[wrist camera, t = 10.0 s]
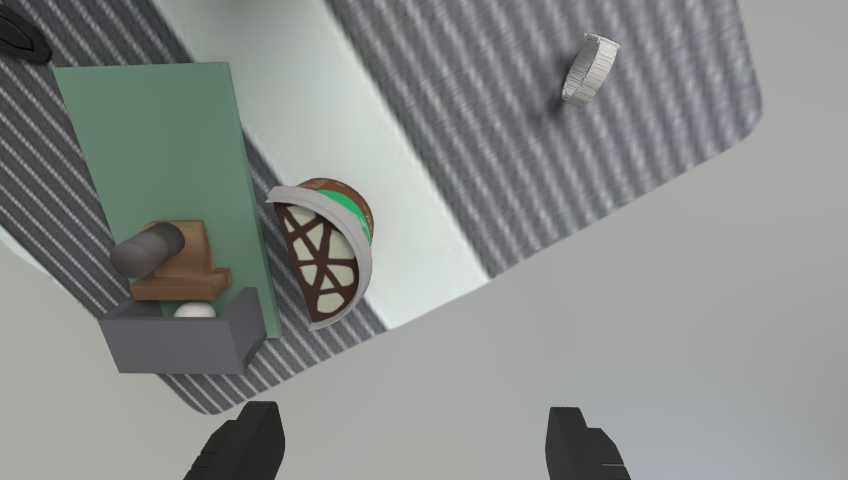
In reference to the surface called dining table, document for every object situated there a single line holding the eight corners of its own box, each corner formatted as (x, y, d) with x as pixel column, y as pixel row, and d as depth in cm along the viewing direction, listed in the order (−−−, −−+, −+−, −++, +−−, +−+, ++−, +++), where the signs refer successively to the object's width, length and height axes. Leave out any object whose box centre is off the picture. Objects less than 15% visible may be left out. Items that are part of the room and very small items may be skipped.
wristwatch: (607, 46, 33) (634, 43, 28) (577, 106, 34) (597, 112, 30) (575, 32, 32) (597, 26, 28) (547, 94, 34) (562, 98, 30)
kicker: (136, 215, 39) (76, 244, 33) (216, 214, 39) (170, 243, 32) (158, 281, 42) (107, 320, 36) (233, 281, 42) (194, 320, 35)
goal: (142, 287, 43) (97, 320, 37) (256, 287, 42) (227, 320, 36) (159, 335, 45) (119, 373, 40) (267, 335, 44) (241, 374, 39)
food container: (396, 270, 42) (382, 328, 32) (339, 278, 42) (310, 336, 33) (370, 153, 37) (346, 181, 28) (307, 163, 38) (262, 194, 28)
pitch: (61, 67, 35) (51, 67, 34) (228, 62, 34) (222, 62, 33) (155, 331, 46) (149, 337, 45) (282, 332, 45) (279, 338, 45)
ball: (177, 346, 42) (193, 313, 45) (215, 346, 42) (228, 313, 44) (157, 327, 39) (175, 292, 42) (197, 327, 39) (212, 292, 41)
